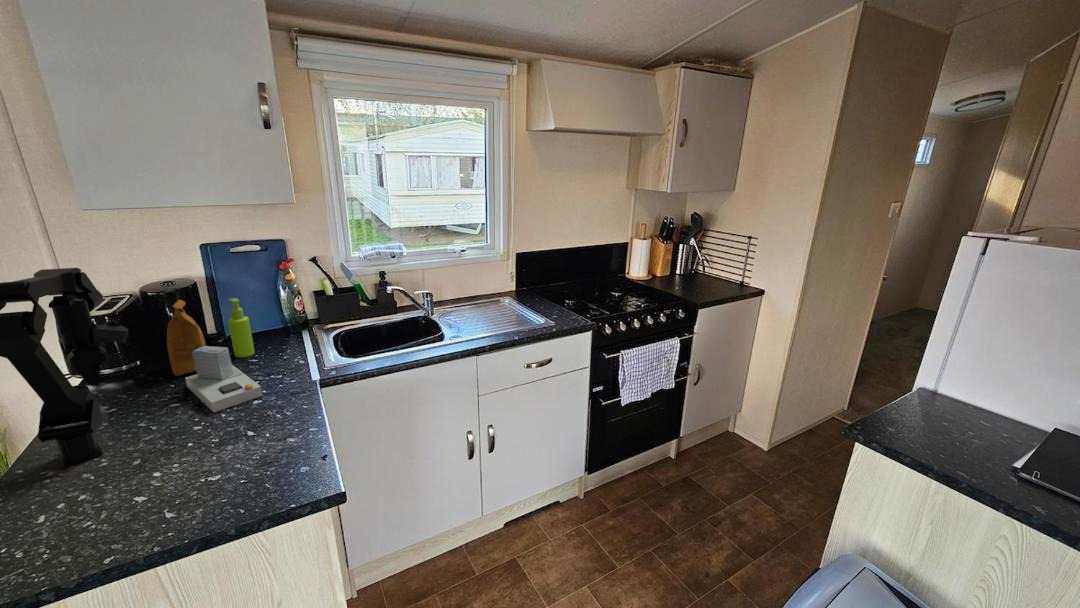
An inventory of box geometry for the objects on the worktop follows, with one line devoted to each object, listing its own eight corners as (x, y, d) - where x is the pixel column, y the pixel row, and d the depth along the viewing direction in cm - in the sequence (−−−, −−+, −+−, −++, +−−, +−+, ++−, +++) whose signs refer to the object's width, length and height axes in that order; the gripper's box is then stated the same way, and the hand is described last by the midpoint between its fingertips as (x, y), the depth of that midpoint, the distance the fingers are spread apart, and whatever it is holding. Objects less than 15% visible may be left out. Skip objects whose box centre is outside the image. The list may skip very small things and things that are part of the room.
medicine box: (234, 373, 131) (228, 347, 128) (222, 380, 127) (216, 353, 124) (209, 371, 131) (204, 345, 129) (197, 378, 127) (191, 351, 125)
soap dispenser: (250, 348, 156) (240, 295, 151) (257, 353, 152) (247, 299, 146) (231, 353, 152) (220, 299, 146) (238, 359, 148) (227, 303, 142)
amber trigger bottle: (212, 357, 148) (199, 296, 142) (210, 371, 138) (196, 306, 132) (175, 363, 143) (159, 300, 137) (170, 378, 133) (153, 311, 127)
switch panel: (262, 395, 125) (260, 383, 124) (213, 412, 116) (210, 399, 115) (233, 373, 138) (231, 362, 137) (187, 386, 129) (184, 375, 128)
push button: (242, 396, 124) (240, 386, 123) (226, 401, 121) (224, 391, 120) (237, 391, 126) (235, 381, 125) (221, 396, 123) (219, 386, 122)
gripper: (129, 321, 103) (144, 380, 108) (112, 305, 114) (127, 359, 118) (61, 333, 95) (81, 397, 99) (50, 314, 105) (68, 372, 110)
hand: (92, 379), depth 107 cm, fingers open, 9 cm apart
